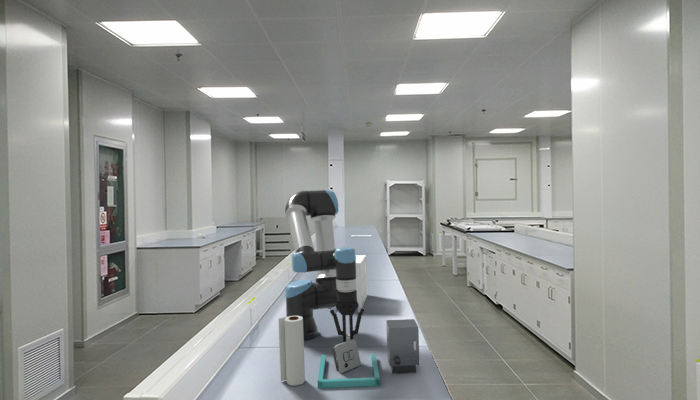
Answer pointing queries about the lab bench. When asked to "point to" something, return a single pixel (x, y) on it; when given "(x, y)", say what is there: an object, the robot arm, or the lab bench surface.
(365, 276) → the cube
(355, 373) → the lab bench surface
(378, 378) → the teal bay
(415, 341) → the control unit
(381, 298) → the lab bench surface
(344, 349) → the electrical switch
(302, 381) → the paper towel roll
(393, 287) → the lab bench surface
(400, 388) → the lab bench surface
